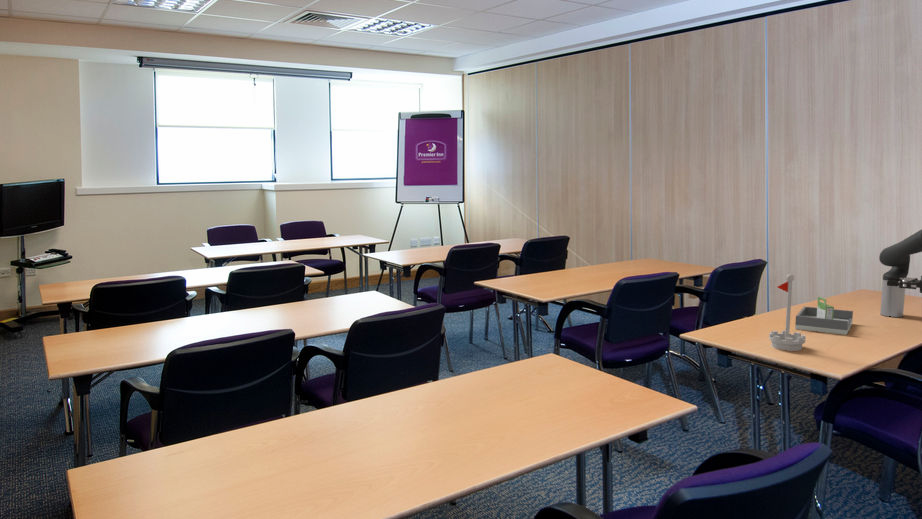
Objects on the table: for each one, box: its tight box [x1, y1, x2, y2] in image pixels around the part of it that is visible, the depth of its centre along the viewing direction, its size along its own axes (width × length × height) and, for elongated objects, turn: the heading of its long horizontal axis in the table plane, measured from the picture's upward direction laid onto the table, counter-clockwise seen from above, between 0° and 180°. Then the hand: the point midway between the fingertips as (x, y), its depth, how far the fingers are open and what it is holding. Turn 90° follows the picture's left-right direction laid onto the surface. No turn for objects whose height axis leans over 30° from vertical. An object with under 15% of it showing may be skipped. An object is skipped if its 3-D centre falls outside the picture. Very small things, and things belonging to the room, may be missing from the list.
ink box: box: [816, 296, 835, 319], centre depth 289 cm, size 7×4×13 cm, turn 179°
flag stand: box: [768, 273, 806, 352], centre depth 256 cm, size 13×13×30 cm
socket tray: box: [794, 306, 854, 336], centre depth 290 cm, size 24×20×6 cm
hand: (887, 281), depth 277 cm, fingers open, 8 cm apart
